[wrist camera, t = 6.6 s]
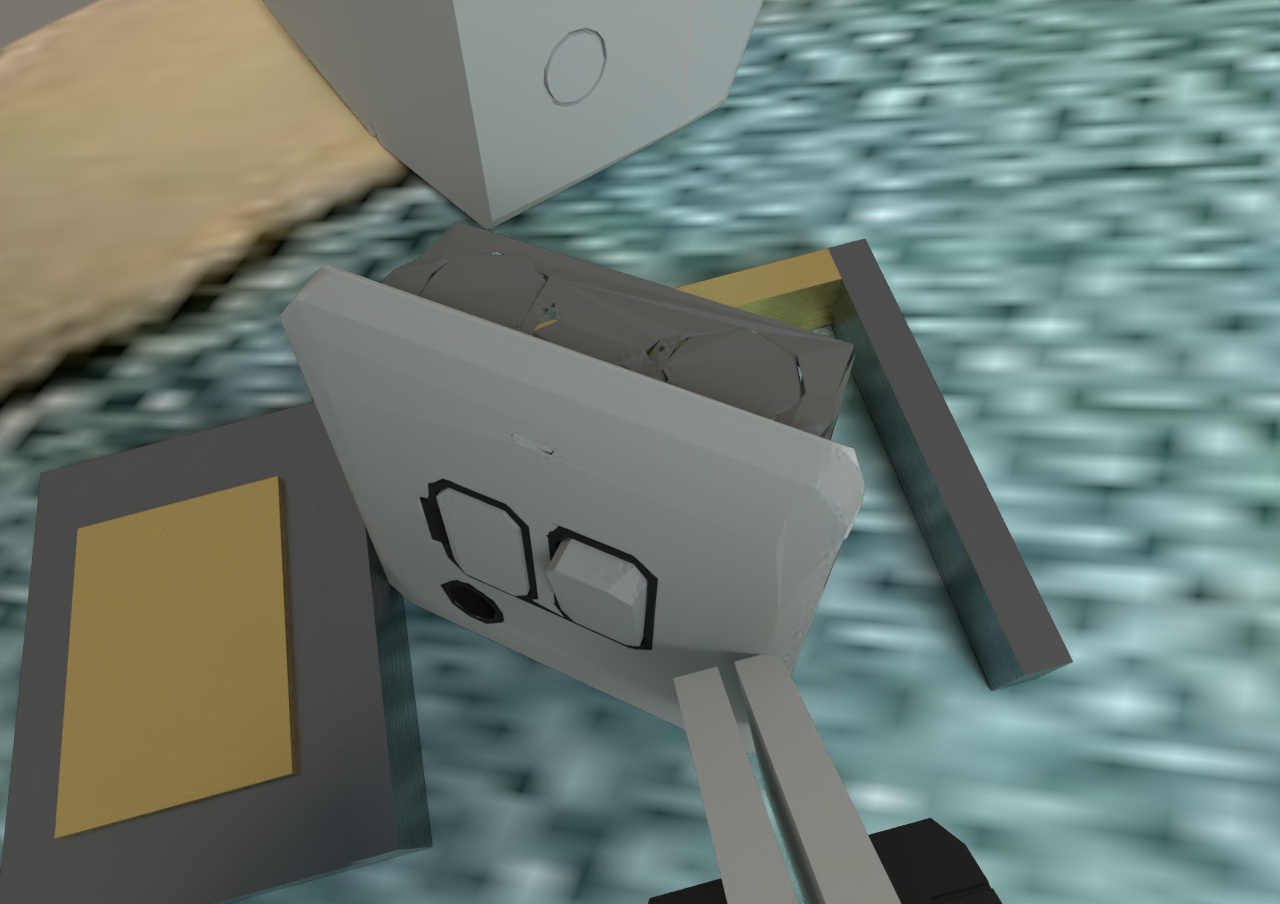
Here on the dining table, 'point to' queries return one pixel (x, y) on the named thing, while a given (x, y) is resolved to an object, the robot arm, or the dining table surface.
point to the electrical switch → (585, 459)
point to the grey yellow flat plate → (347, 632)
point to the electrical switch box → (521, 83)
